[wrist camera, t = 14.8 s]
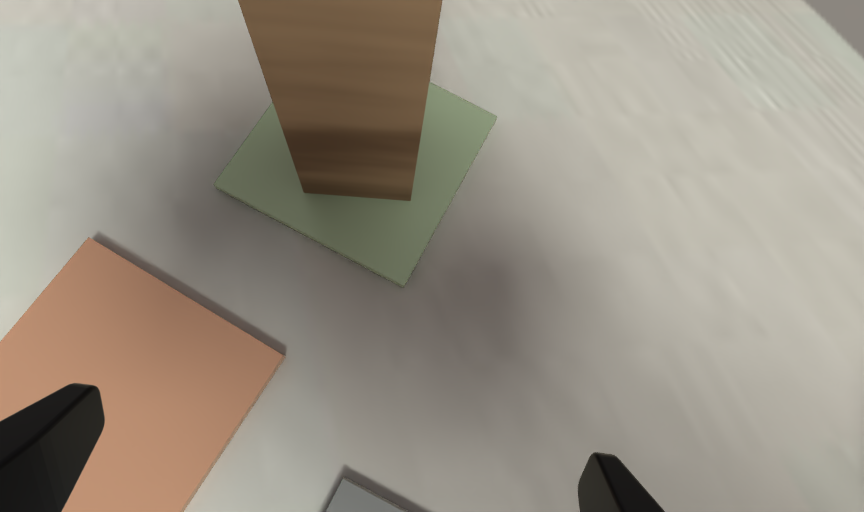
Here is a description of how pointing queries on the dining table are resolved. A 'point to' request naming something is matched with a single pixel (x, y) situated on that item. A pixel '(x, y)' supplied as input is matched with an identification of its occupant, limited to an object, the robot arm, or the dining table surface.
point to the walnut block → (348, 88)
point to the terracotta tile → (136, 378)
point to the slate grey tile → (359, 500)
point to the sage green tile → (357, 216)
